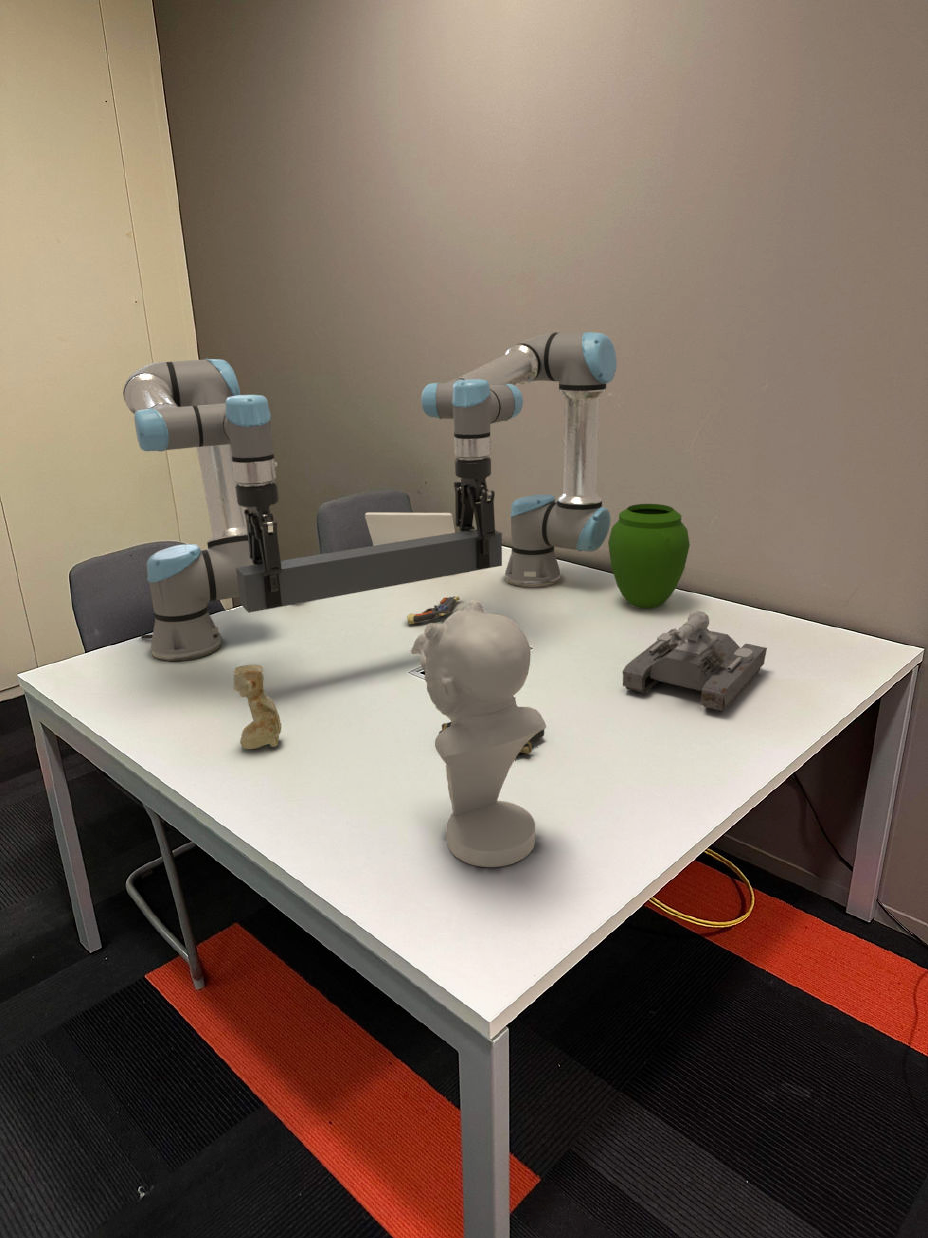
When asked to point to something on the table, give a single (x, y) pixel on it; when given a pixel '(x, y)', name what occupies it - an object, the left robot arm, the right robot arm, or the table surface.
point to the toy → (697, 663)
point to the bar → (367, 568)
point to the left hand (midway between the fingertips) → (269, 601)
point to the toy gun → (434, 610)
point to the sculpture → (257, 708)
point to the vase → (648, 553)
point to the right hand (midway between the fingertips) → (475, 563)
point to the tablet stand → (407, 526)
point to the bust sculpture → (481, 729)
